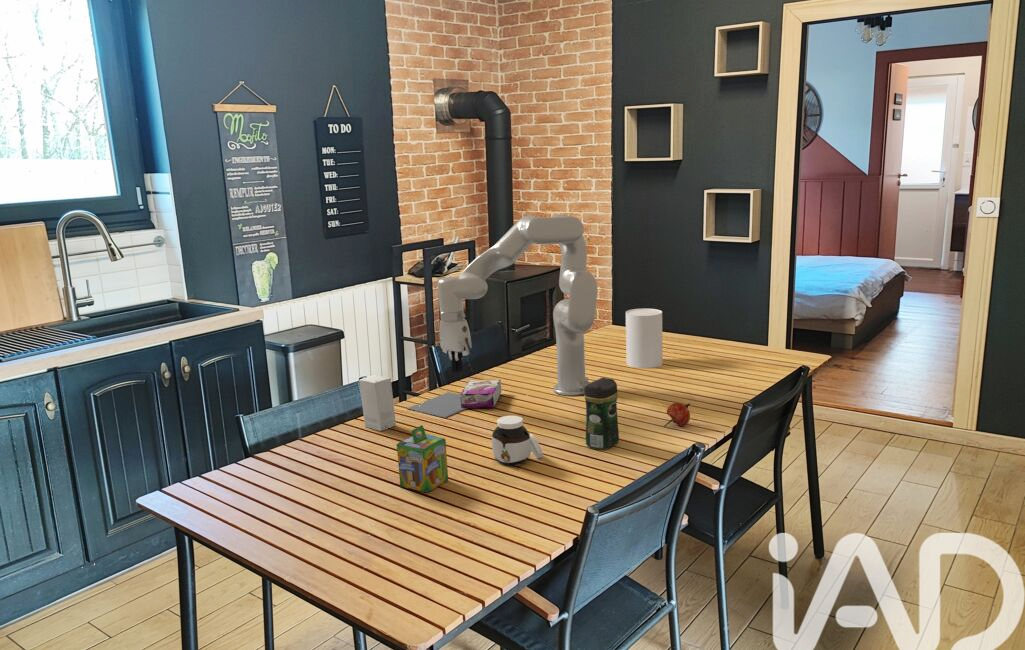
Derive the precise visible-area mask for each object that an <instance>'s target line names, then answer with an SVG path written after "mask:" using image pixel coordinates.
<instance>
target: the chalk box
mask: <svg viewBox="0 0 1025 650" xmlns="http://www.w3.org/2000/svg"><path fill="white" fill-rule="evenodd" d="M419 432H420V433H419ZM446 441H447V440H446V438H443V437H440V436H439V437H438V436H435V435H431V434H426V431H425V427H424V425H422V424H421V425H420V426H417V427H416V428H413V429H412V430H411V436H410V437H408V438H404V439H403V440H401V441H400V442H398V443H396V452H397V454H396V455H397V463H398V466H397V467H398V474H399V487H400V488H404V489H410V490H414V491H418V492H422V493H423V492H424V493H426V494H428V493H430V492H431V491H433V490H434V489H436V488H438V487H440V486H441V485H443V484H444V483H446V482H448V481H449V474H448V473H449V471H448V456H447V443H446Z"/></svg>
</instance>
